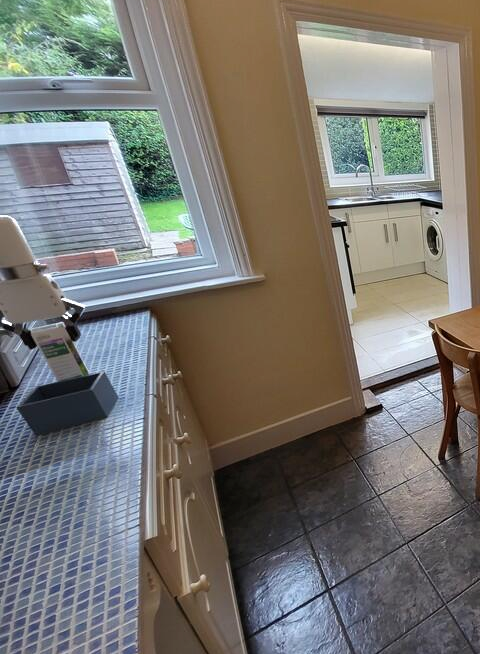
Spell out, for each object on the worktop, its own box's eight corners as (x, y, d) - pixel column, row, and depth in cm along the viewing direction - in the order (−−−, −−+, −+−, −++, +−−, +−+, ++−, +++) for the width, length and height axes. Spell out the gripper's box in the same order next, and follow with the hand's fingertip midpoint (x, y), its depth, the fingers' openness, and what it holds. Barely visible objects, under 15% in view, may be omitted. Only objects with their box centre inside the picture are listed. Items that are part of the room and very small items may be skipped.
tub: (35, 436, 90) (16, 407, 87) (53, 413, 98) (35, 386, 95) (107, 417, 95) (91, 389, 92) (118, 397, 103) (104, 371, 100)
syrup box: (59, 387, 101) (29, 333, 95) (59, 379, 104) (29, 327, 98) (91, 378, 104) (64, 325, 99) (89, 371, 108) (63, 320, 102)
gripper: (74, 263, 100) (106, 330, 107) (-30, 275, 92) (13, 346, 99) (63, 269, 94) (98, 340, 101) (-49, 283, 86) (-3, 358, 93)
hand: (55, 342), depth 100 cm, fingers closed on syrup box, 6 cm apart
